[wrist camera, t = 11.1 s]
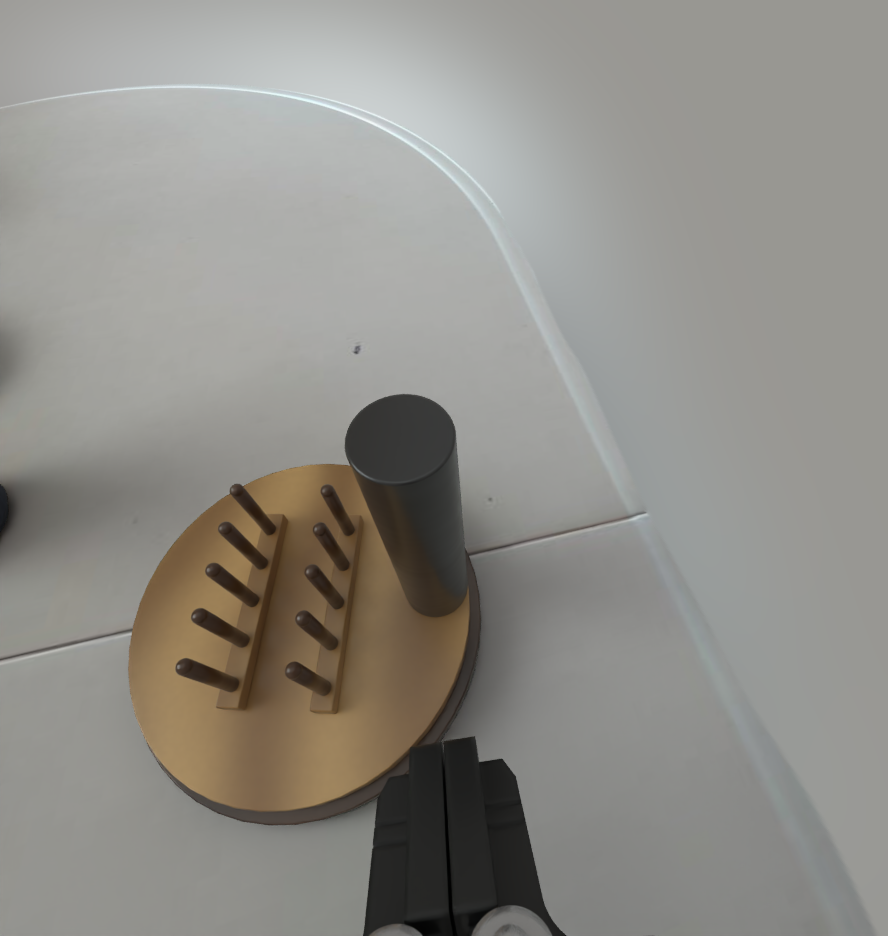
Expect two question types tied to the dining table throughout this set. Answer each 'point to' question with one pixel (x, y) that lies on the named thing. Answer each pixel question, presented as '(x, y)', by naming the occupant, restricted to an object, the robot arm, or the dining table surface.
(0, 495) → the beverage can
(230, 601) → the dish rack
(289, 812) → the base
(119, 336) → the dining table surface
